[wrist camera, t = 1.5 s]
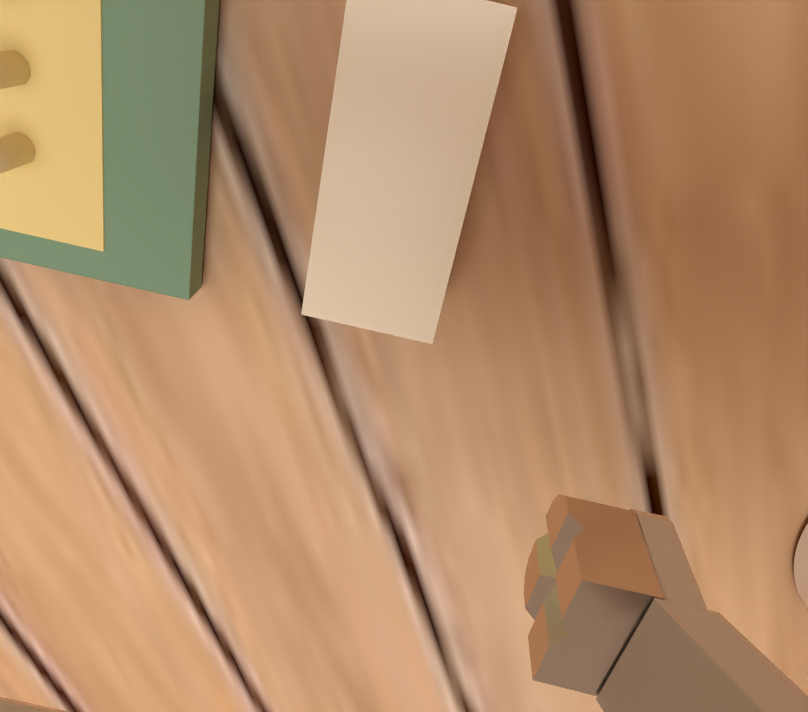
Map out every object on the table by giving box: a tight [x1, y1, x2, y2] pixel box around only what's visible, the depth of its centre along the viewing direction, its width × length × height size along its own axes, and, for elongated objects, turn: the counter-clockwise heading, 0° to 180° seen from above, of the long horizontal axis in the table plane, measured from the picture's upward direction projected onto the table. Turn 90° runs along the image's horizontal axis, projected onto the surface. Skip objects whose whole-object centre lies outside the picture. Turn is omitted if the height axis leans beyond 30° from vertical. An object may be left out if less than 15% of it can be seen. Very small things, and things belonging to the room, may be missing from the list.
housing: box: [301, 0, 517, 344], centre depth 25 cm, size 5×11×5 cm, turn 168°
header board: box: [0, 0, 219, 300], centre depth 25 cm, size 14×16×5 cm
